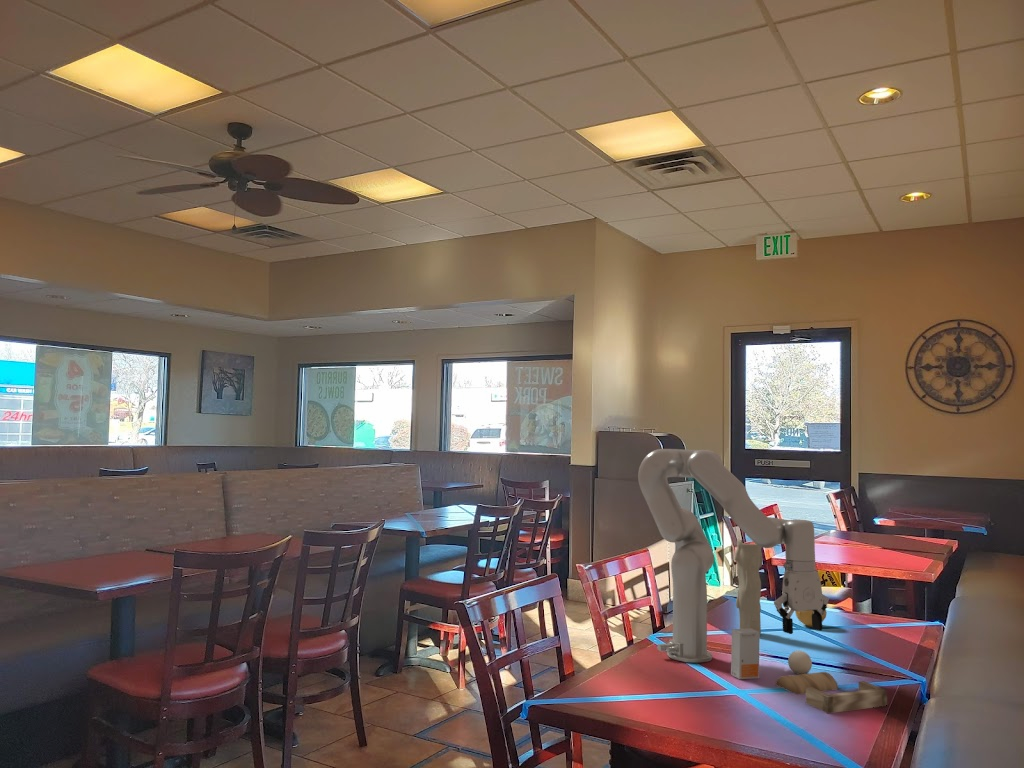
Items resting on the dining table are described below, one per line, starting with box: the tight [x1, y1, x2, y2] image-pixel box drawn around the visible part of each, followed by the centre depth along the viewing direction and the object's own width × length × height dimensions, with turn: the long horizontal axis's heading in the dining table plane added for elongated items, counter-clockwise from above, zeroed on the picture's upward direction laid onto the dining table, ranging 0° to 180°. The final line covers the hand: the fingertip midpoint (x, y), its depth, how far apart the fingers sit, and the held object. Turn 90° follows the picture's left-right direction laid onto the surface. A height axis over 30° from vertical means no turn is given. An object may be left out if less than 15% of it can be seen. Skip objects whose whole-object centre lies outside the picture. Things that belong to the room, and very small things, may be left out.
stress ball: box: [794, 608, 827, 628], centre depth 262 cm, size 10×10×10 cm
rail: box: [805, 680, 888, 714], centre depth 184 cm, size 18×7×4 cm, turn 110°
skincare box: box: [730, 628, 761, 680], centre depth 204 cm, size 6×4×12 cm
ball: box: [787, 650, 813, 675], centre depth 208 cm, size 6×6×6 cm
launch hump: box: [775, 671, 839, 695], centre depth 197 cm, size 13×8×8 cm, turn 110°
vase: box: [733, 538, 764, 634], centre depth 251 cm, size 9×8×30 cm
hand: (802, 631), depth 208 cm, fingers open, 9 cm apart
